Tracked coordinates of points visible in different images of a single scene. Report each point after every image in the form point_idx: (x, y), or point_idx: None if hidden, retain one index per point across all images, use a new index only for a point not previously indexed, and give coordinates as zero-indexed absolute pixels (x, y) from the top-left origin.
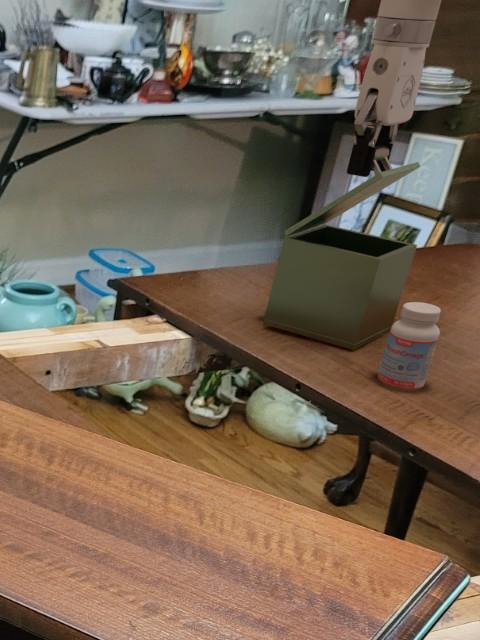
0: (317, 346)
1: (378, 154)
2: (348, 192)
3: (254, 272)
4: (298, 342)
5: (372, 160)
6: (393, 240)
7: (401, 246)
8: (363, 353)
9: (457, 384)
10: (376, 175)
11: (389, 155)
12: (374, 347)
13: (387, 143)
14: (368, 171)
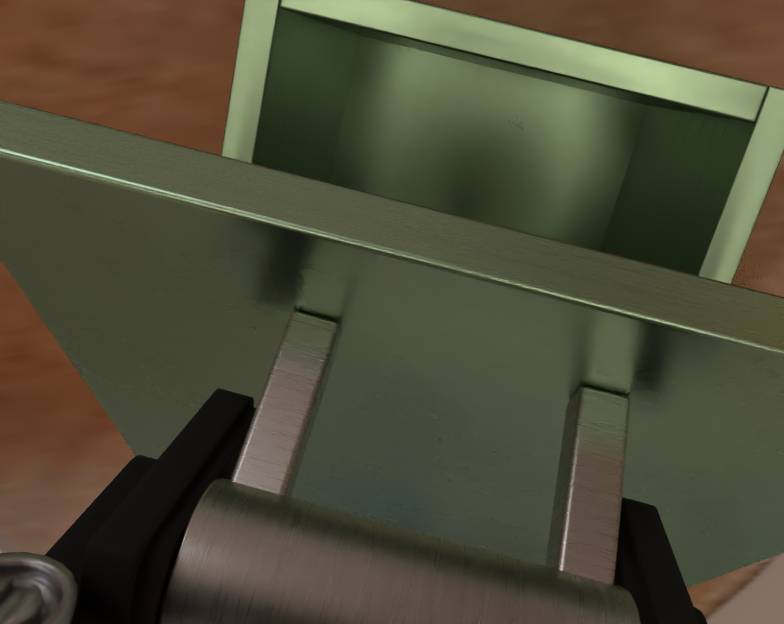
0: (767, 204)
1: (545, 599)
2: None
3: (47, 528)
4: (758, 269)
5: (682, 599)
6: (252, 106)
7: (276, 50)
8: (755, 41)
9: None
10: None
11: (181, 468)
12: (652, 18)
13: (123, 609)
14: (658, 533)
